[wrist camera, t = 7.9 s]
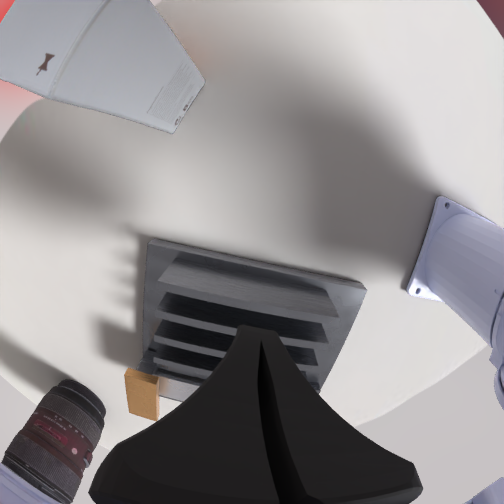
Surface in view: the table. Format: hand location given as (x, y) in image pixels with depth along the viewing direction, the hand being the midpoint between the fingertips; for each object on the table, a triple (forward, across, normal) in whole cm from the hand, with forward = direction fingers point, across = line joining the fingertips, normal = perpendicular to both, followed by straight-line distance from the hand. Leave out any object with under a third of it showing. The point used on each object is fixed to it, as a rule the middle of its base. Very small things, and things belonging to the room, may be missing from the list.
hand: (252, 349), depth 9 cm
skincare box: (+10, +9, -10) cm, 17 cm away
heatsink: (+9, 0, +7) cm, 12 cm away
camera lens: (+10, +16, +22) cm, 29 cm away
